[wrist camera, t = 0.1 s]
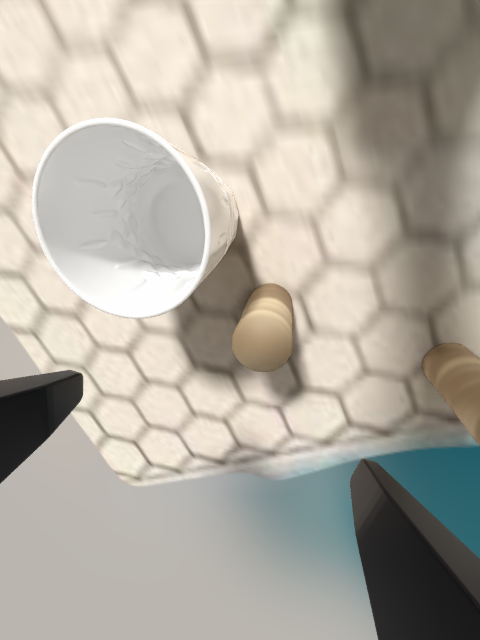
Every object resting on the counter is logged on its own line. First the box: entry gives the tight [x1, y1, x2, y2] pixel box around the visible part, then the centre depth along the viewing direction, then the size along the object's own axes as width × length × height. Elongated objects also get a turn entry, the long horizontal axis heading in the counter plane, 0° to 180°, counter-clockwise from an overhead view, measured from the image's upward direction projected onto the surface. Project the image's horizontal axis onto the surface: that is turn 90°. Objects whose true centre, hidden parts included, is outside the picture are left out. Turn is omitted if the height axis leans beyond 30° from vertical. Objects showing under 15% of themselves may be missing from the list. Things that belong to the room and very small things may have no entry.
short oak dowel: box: [232, 284, 292, 372], centre depth 19 cm, size 3×3×7 cm
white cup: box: [32, 118, 239, 319], centre depth 17 cm, size 8×8×10 cm
